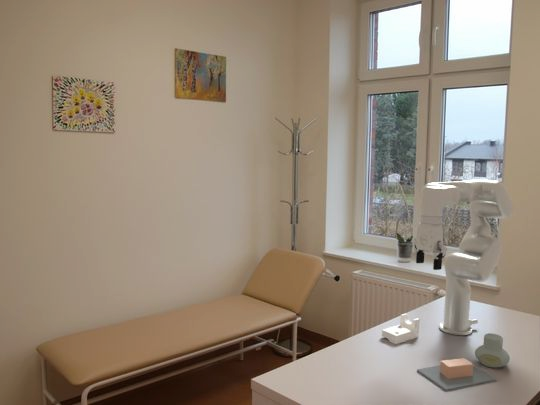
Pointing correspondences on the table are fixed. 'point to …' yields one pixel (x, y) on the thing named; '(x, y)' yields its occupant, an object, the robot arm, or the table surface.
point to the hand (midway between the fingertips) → (428, 266)
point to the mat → (455, 383)
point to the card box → (456, 368)
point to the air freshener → (492, 352)
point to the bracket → (402, 330)
